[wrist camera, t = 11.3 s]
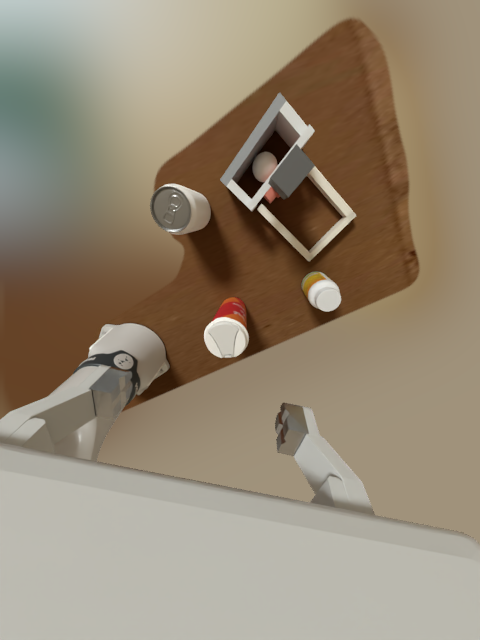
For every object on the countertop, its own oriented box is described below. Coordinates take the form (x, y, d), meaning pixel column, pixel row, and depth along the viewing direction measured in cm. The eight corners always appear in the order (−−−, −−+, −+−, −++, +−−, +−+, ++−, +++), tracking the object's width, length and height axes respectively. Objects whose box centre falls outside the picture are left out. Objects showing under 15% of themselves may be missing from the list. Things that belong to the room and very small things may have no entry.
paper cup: (252, 322, 49) (250, 359, 36) (219, 325, 49) (207, 362, 37) (248, 290, 45) (245, 318, 33) (213, 293, 46) (197, 322, 34)
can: (217, 205, 38) (202, 200, 28) (201, 237, 41) (182, 245, 30) (185, 183, 37) (157, 170, 26) (171, 217, 40) (140, 218, 29)
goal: (252, 211, 38) (251, 211, 31) (226, 185, 37) (218, 178, 30) (302, 148, 34) (314, 130, 27) (275, 116, 32) (280, 88, 25)
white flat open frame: (306, 259, 42) (309, 261, 40) (256, 209, 38) (256, 209, 36) (351, 215, 38) (356, 215, 36) (300, 155, 34) (302, 152, 33)
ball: (248, 168, 32) (246, 169, 35) (267, 188, 34) (263, 188, 37) (267, 142, 31) (262, 146, 34) (285, 165, 32) (279, 166, 35)
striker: (274, 207, 38) (282, 204, 25) (261, 195, 37) (264, 185, 25) (299, 177, 35) (322, 157, 23) (287, 163, 35) (303, 134, 22)
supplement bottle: (297, 292, 45) (306, 310, 36) (307, 267, 42) (320, 281, 34) (321, 299, 45) (336, 319, 36) (332, 275, 43) (352, 290, 34)
